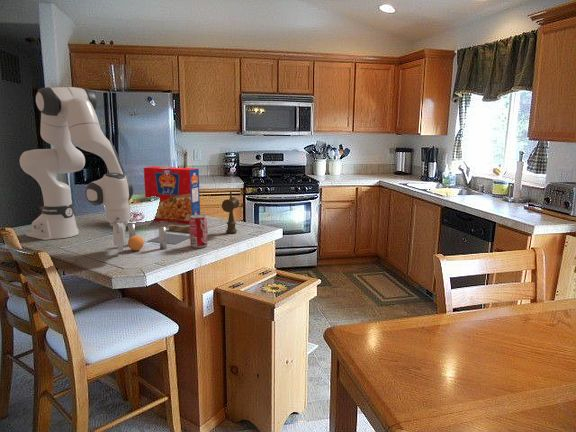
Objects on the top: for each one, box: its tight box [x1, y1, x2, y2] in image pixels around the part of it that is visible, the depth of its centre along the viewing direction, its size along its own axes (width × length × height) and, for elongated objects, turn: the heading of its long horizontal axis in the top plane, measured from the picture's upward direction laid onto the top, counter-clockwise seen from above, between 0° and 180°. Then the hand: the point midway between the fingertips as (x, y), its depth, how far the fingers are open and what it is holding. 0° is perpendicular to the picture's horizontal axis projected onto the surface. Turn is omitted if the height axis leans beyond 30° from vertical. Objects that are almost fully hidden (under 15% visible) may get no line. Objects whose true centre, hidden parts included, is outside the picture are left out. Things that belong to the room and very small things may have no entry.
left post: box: [127, 223, 137, 240], centre depth 178 cm, size 3×3×9 cm
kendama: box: [221, 190, 240, 234], centre depth 199 cm, size 6×10×20 cm, turn 169°
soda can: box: [188, 214, 209, 249], centre depth 176 cm, size 7×7×13 cm
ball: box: [127, 235, 145, 251], centre depth 171 cm, size 6×6×6 cm
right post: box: [158, 225, 168, 250], centre depth 173 cm, size 3×3×9 cm
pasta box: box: [143, 165, 201, 225], centre depth 223 cm, size 28×8×28 cm, turn 70°
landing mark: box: [148, 233, 190, 245], centre depth 189 cm, size 14×14×1 cm
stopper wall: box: [168, 224, 208, 234], centre depth 201 cm, size 20×2×2 cm, turn 71°
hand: (120, 250), depth 165 cm, fingers closed
